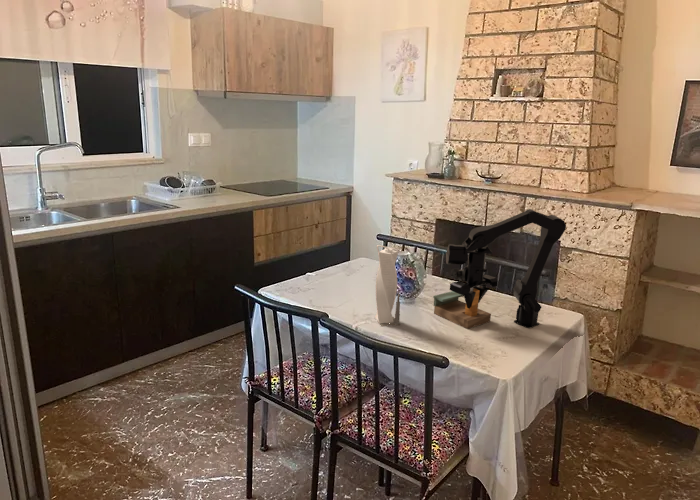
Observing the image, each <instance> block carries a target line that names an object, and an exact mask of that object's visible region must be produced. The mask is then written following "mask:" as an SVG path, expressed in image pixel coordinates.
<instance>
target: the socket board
mask: <svg viewBox="0 0 700 500" xmlns="http://www.w3.org/2000/svg"><path fill="white" fill-rule="evenodd" d="M432 297H433V306H434V309H433V310H434V311H433V314H434V315H436V316H438V317H441V318H443V319H445V320H447V321H448V322H449V321H450V322H451V323H454V324H455V325H457V326H460V327H462V328H464V329H467V330H469V329H471V328H474V327H478V326H481V325H484V324H487V323H488V324H489V323H491V319H492V318H491V317H492V316H491V315H492V314H491V313H490V312H487V311H485V310H482V309H481V308H478V311H477V315H476V316H473V317H471V316H468V315H466V314H465V307H466V302H463V301H462V300H459V299H460V298H463V297H464V295H461V294H458V293H456V292H453V291H451V290H450V291H449V292H445V293H440V294H435V295H433V296H432Z"/></svg>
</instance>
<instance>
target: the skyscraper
mask: <svg viewBox="0 0 700 500" xmlns="http://www.w3.org/2000/svg"><path fill="white" fill-rule="evenodd" d="M379 247H381V248H384V249H382V250H379ZM376 249H377V254H378V263H379V264H378V268H377V272H376V279H375V303H376V314H375V317H374V319H375V318H376V319H377V321H376V322H377V323H378V324H379V326H380V325H381V326H380V327H388V326H387V325H392V326H400V325H401V324H400V316H401V314H400V312H401V311H400V309H401V302H400V297H401V295H400V289H398V274H397V273H398V272H397V268H396V262H397V258H398V254H399V249H397V248H395V247H392V246H386V245H381V244H377V245H376ZM397 291H398V293H397ZM396 297H397V298H396ZM396 299H397V300H396ZM395 302H396V303H395ZM394 305H395V313H394V316H393V314H392V311H393V308H394ZM376 319H375V320H376ZM389 323H390V324H389Z"/></svg>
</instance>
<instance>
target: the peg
mask: <svg viewBox="0 0 700 500" xmlns="http://www.w3.org/2000/svg"><path fill="white" fill-rule="evenodd" d="M473 291H474V292H476V294H475V297H474V300H473V302H472V305H471V307H470V308H467V305H466V307H465V314H466V315H468V316H471V317H473V316H476V315H477V311H478V309H479V303H478V301H479V292H480V290H477V289H475V288H473Z"/></svg>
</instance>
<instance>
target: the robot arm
mask: <svg viewBox="0 0 700 500" xmlns="http://www.w3.org/2000/svg"><path fill="white" fill-rule="evenodd" d="M531 224H535V225H536V226H539V227H540V235H539V237H540V239H539V242H538V244H537V246H536V249H535V251H534V254H533V257H532V259H531V261H530V263H529V266H528V268H527V271H526V273H525V275H524V277H523V278H522V279H519V278H517V280H516V281H515V285H514V286H513V288H512V290H513V295H514V297H515V299H516V300H517V302H518V303H519V304H518V307H517V308H516V316H515V320H514V321H513V323H514V324H517V325H519V326H522V327H523V328H527V329H531V328H533V327H537V326H539V325H540V322H538V318H539V313H540V311H541V309H542V308H543V307H542V305H541V304H540V303H539V302H538V301H537V296H538V283H539V280H540V278H541V275H542V273H543V271H544V268H545V267H546V266H545V265H546V264H547V261H548V259H549V256H550V254H551V252H552V249H553V246H554V245H555V244H556V243H557V242H558V241H559V240H560V239H561V237H562V236H563V234H564V233H565V232H566V229H567V225H566V222H565V221H564V219H562V218H560V217H558V216H557V215H554V214H549V215H546V214H543V213H541V212H539V211H535V210H533V209H530V208H529V209H526V210H525V211H523V212H520V213H518V214H515V215H513V216H511V217H508V218H506V219H504V220H501V221H498V222H496V223H494V224H490V225H489V224H488V225H482V226H481V225H480V226H478V227H474V228H473V229H471V230H470V232H469V234H468V237H467V238H466V239H465V240H464V241H463V242H462V244H453V243H448V246H447V249H446V252H445V262H446V264H447V265H460V266H461V265H465V264H467V265H466V266H464V267H463V269H459V268H457V267H456V268H451V271H450V278H452V279H454V281H452V282H451V283H450V284H449V291H450V292H451V291H453V292H456V293H458V294H461V295H464V296H463V297H464V301H465V302H464V303H466V305H467V308H470V307H471V305H472V302H473V300H474V297H475V294H476V292H474V291H473V288H475V289H477V290H480V292H479V301H478V304H480V302H481V300H482V299H483V298H484V296H485V295H486V294H487V292H488V291H489V290H490V288H489V287H487V285H488V284H489V286H490V287H491V288H494V287H498V282H499V281H498V279H497V277H495V276H491V275H488V274H485V273H487V272H488V268H485V266H486V265H485V264H486V257H487V255H491V254H493V251H492V250H491V249H490V247H489V246H488V245H490V244H492V243H494V242H495V240H496V239H498V238H499V237H502V236H503V235H506V234H508V233H511V232H513V231H516V230H518V229H521V228H522V227H526V226H528V225H531ZM460 280H461V281H460Z"/></svg>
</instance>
